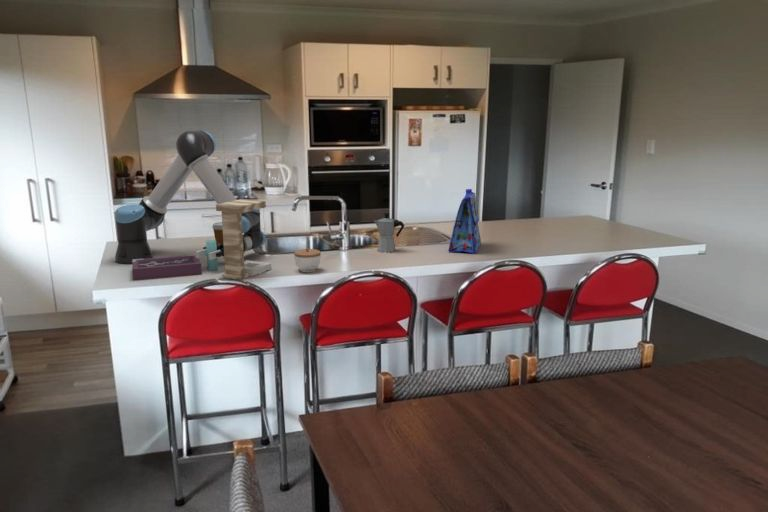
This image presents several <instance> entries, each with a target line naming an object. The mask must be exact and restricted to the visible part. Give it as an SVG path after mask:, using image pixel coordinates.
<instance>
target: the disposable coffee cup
mask: <svg viewBox="0 0 768 512" xmlns="http://www.w3.org/2000/svg"><path fill="white" fill-rule="evenodd" d="M211 227H212V230H213V234H214V240H216V243H219V245H220V244H223V228H222V221H220V222H219V221H218V222H213V224H212V226H211Z"/></svg>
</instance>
